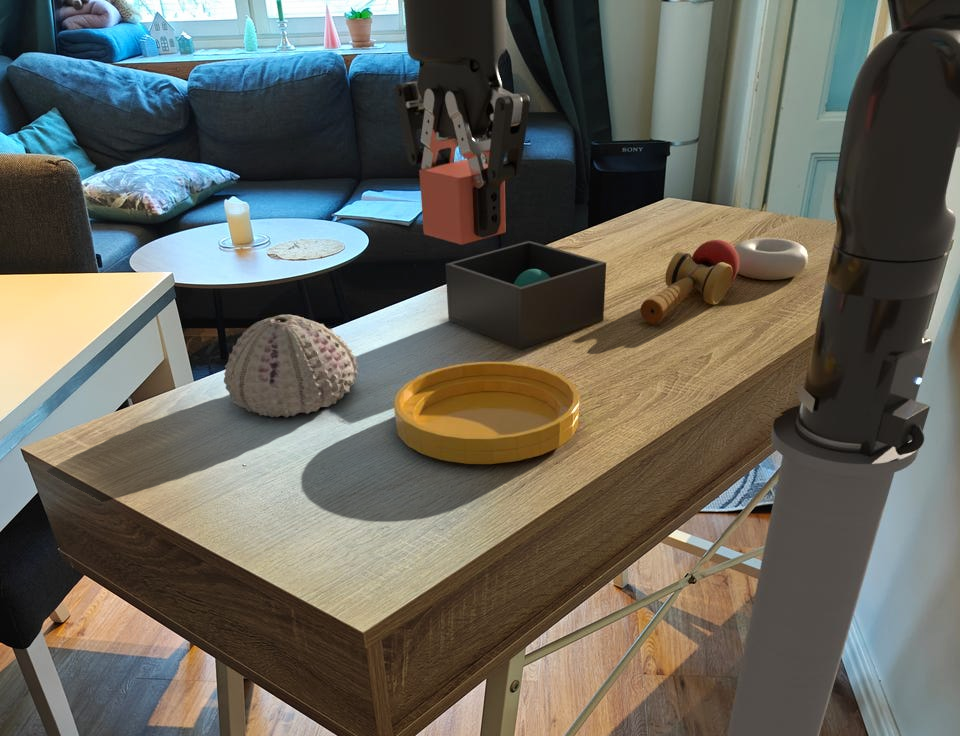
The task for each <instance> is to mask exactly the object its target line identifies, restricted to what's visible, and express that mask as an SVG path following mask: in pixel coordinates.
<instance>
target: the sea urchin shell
mask: <svg viewBox="0 0 960 736" xmlns="http://www.w3.org/2000/svg"><path fill="white" fill-rule="evenodd" d="M356 359H357V356H356V355H354V353H353V351H352V349H351V348H349V346H348V344H347V343H346V342H345V341H344V340H343V339H342V337H341V335H338V334H336V333H335V332H334V331H333V328H328V327H326V326H325V324H324V323H319V322H317V321H315V320H312V319H307V318H304V316H302V317H301V316H299V315H293V314H279V315H275V316H272V317H268V318H265V319H262V320H260V321H259V320H258V321H257V322H255V323H253V324H252V325H250V326H249V327H248V328H247V329H246V330H245V331H243V332H242V334H241V336H240V337H238V338H237V341H236V344H235V345H232V351H231V353H229V354H228V360H227V363H226V364H225V365H224V368H225V371H224V372H223V374H224V378H223V383H224V384H225V390H226V391H227V392H228V393H229V397H230V398H231V399H232V402H233V403H235V404H237V406H238V408H244V409H245V410H246V411H248V412H249V413H251V412H253V413H257V414H259V415H260V416H264V417H265V416H267V417H268V416H269V417H270V418H273V417H275V418H279V417H280V416H283V417H285V418H289V417H290V416H291V417H295V416H297V415H298V414H300V413H301V414H306V415H308V414H309V413H311V412H317V411H318V410H319V409H320V408H329V407H330V406H332V404H333V405H334V404H336V403H337V401H338V400H341V399H343V398H344V395H345V394H348V393H350V389H351V386H352V385H353V384H354V383H356V377H357V376H358V375H359V373H358V370H357V368H358V367H359V364H358V363H357V362H356Z"/></svg>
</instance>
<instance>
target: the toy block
mask: <svg viewBox="0 0 960 736" xmlns="http://www.w3.org/2000/svg"><path fill="white" fill-rule="evenodd" d="M483 165H484V169H485V168H488V163H484V162H483ZM418 172H419V173H418V174H419V186H420V198H421V199H420V201H421V216H422V229H423V234H424V235H425V236H429V237H433V238H436V239H439V240H443V241H446V242H451V243H454V244H457V245H460V246H461V245H465V244H470V243H473V242H477V241H479V240H480V241H481V240H483V239H487V238H490V237H494V236H497V235H501V234H505V233H506V182H505V181H504V182H503V183H502V184H501V187H500V204H501V208H500V209H501V213H500V214H501V223H500V227H499V230H498V232H497V233H496V234H494V235H491V236H487V237H484V238H482V237H479V236H476V235H475V233H474V216H473V190H472V188H476V187H475V186H474V183H473V180H472V176H471V172H470V168H469V164H468V160H467V159H462V160H458V161H454V162H452V163H448V164H443V165H439V166H434V167H430V168H425V169H422V168H420V169H419V171H418Z"/></svg>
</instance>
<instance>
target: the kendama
mask: <svg viewBox="0 0 960 736" xmlns="http://www.w3.org/2000/svg"><path fill="white" fill-rule="evenodd" d="M734 247H735V246H733V245H732V244H731V243H730V242H729V241H726V240H723V239H710V240H707V241H704V242H703V243H702V244H700V246H698V247H696V249H695V251H694V252H693V254H692V255H691V253H690V252H688V251H684V250H679V251H677V252H676V253H675V254H674V255H673V256H672V257H671V259H670V261H669V263H668V265H667V267H666V272H665V276H664V277H665V285H666V286H667V287H665V288H664V289H662V290H661V291H659V292H657V293H656V294H654V295H652V296H651V297H648V298H647V299H646V300H644V301H643V302H642V303H641V305H640V315H641V317H642V319H643V320H644V321H645V322H646V323H647V324H649V325H651V326H652V325H658V324H659V323H661V322H662V321H663V320H664V318H665V317H666V316H667V315H668V314H669V313H670V312H672V311H673V310H674V309H675V308H676V307H677V306H678V305H679V304H680V303H681V302H682V301H683V300H684V299H685V298H686V297H687V295H688V294H689V293H690V292H691V291H692V290H693V289H695V290H696V291H699V292H700V294H701V296H702V298H703V301H704V302H705V303H706V304H710V305H713V306H715V305H718V304H719V303H720V302H721V301H722V300H723V299H724V297H725V295H726V294H727V293H728V290H729V288H730V287H731V283H732V282H733V281H734V280H735V278H736V276H737V275H738V273H737V272H738V269H739V257H738V254H737V251H736V250H735V248H734Z"/></svg>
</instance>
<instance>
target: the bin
mask: <svg viewBox="0 0 960 736" xmlns="http://www.w3.org/2000/svg"><path fill="white" fill-rule="evenodd" d="M444 266H445V280H446V282H445V283H446V298H447V299H446V300H447V302H446V303H447V315H448V316H447V317H448V318H447V319H448V321H449V322H451V323H454V324H456V325H458V326H461V327H464V328H467V329H468V330H471V331H473V332H476V333H479V334H481V335H484V336H486V337H489V338H491V339H494V340H496V341H499V342H501V343H503V344H506V345H509V346H512V347H514V348H517V349H519V350H525V349H526V348H529V347H532V346H535V345H539V344H540V343H543V342H546V341H549V340H552V339H554V338H557V337H560V336H563V335H565V334H569V333H571V332H575V331H577V330H580V329H582V328H585V327H589V326H591V325H594V324H597V323H600V322H603V321H604V315H605V298H606V278H607V262H606V261H601V260H598V259H594V258H592V257H588V256H583V255H580V254H576V253H573V252H571V251H566V250H563V249H560V248H556V247H552V246H548V245H545V244H542V243H539V242H534V241H531V240H527V241H522V242H520V243H517V244H513V245H512V244H511V245H509V246H505V247H501V248H499V249H494V250H491V251H487V252H483V253H480V254H477V255H472V256H470V257H466V258H462V259H459V260H454V261H451V262H448V263H445V265H444ZM530 269H539V270H542V271H544V272H545V273H547V274H548V275H549V276H550V278H549V279H546V280H542V281H539V282H536V283H533V284H529V285H526V286H523V287H519V286H516V285H514V283H515V281H516V279H517V277H518V276H519V275H520V274H521V273H523V272H524V271H527V270H530Z"/></svg>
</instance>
